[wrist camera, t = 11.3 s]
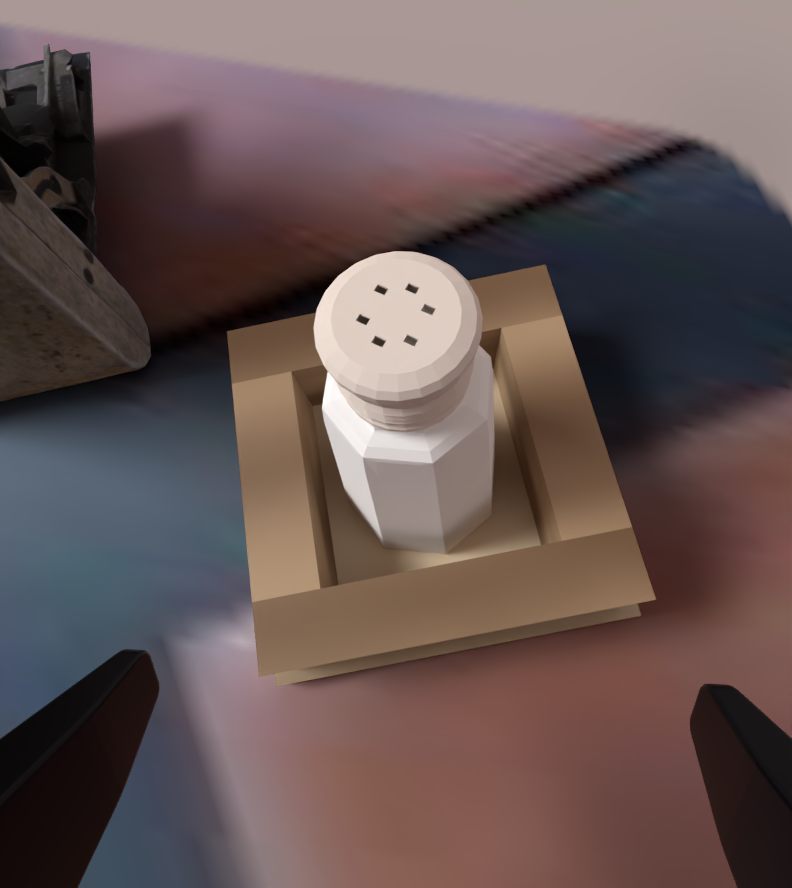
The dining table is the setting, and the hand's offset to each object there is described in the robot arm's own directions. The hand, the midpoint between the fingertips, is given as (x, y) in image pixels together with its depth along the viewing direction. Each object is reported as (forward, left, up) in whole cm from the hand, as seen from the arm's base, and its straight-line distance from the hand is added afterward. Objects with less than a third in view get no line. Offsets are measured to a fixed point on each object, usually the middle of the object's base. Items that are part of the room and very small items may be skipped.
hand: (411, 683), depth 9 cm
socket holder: (+6, -1, -10) cm, 12 cm away
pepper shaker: (+6, -1, -9) cm, 11 cm away
